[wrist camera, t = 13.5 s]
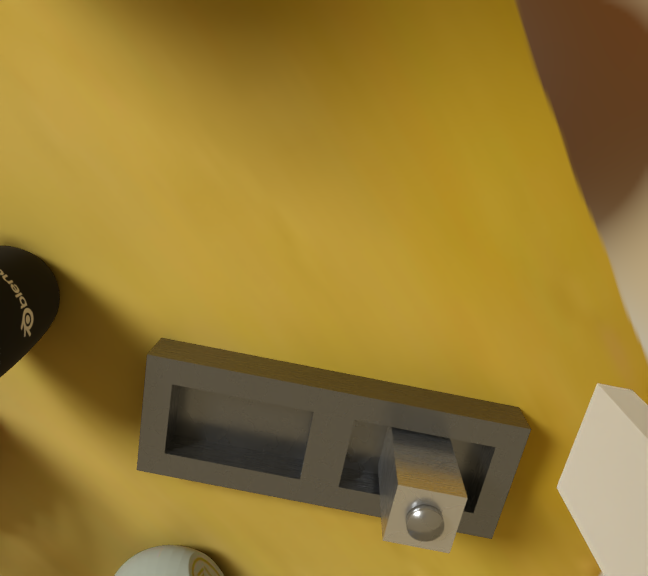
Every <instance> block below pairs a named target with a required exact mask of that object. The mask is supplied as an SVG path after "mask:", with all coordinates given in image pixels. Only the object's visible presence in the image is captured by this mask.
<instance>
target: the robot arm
mask: <svg viewBox="0 0 648 576" xmlns="http://www.w3.org/2000/svg"><path fill="white" fill-rule="evenodd" d="M557 489H558V491H559V493H560V495H561V497H562V498H563V500H564V502H565V504H566V506H567V508H568V509H569V511H570V513H571V515H572V517H573V519H574V521H575V522H576V524H577V526H578V528H579V530H580V532H581V534H582V535H583V537H584V539H585V541H586V543H587V545H588V547H589V548H590V550H591V552H592V554H593V556H594V558H595V560H596V561H597V563H598V565H599V567H600V569H601V571H602V573H603V574H604V576H648V405H647V404H646V403H645V402H644V401H643V400H642V399H641V398H640V397H639V396H638V395H637V394H636V393H635V392H634V391H633V390H630V389H624V388H619V387H614V386H609V385H604V384H599V383H597V385H596V388H595V391H594V393H593V396H592V398H591V401H590V403H589V406H588V408H587V411H586V414H585V416H584V419H583V421H582V424H581V426H580V429H579V431H578V434H577V437H576V439H575V442H574V444H573V447H572V449H571V452H570V454H569V457H568V460H567V462H566V465H565V467H564V470H563V472H562V475H561V477H560V480H559V483H558V485H557Z"/></svg>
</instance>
